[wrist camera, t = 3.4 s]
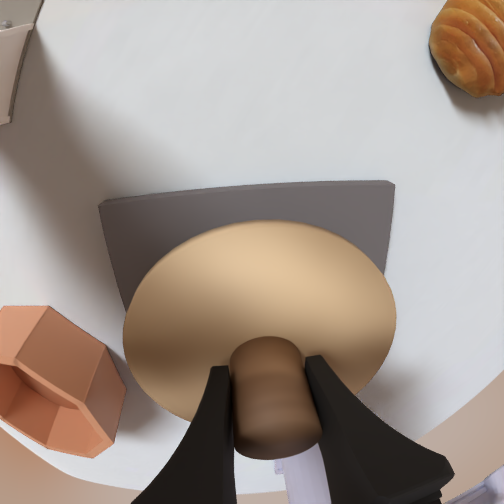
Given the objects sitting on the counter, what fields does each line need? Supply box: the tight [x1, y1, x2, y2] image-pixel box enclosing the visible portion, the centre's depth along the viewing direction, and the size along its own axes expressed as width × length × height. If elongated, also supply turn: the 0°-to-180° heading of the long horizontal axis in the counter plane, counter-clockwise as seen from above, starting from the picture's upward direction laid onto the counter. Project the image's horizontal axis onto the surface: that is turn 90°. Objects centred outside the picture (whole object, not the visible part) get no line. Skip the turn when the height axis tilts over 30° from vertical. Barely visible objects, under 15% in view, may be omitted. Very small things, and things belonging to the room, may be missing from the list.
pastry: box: [429, 0, 504, 98], centre depth 8 cm, size 9×7×4 cm
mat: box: [98, 180, 395, 313], centre depth 15 cm, size 13×13×1 cm
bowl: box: [0, 306, 126, 458], centre depth 14 cm, size 10×10×4 cm
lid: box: [123, 219, 396, 460], centre depth 11 cm, size 12×12×5 cm
